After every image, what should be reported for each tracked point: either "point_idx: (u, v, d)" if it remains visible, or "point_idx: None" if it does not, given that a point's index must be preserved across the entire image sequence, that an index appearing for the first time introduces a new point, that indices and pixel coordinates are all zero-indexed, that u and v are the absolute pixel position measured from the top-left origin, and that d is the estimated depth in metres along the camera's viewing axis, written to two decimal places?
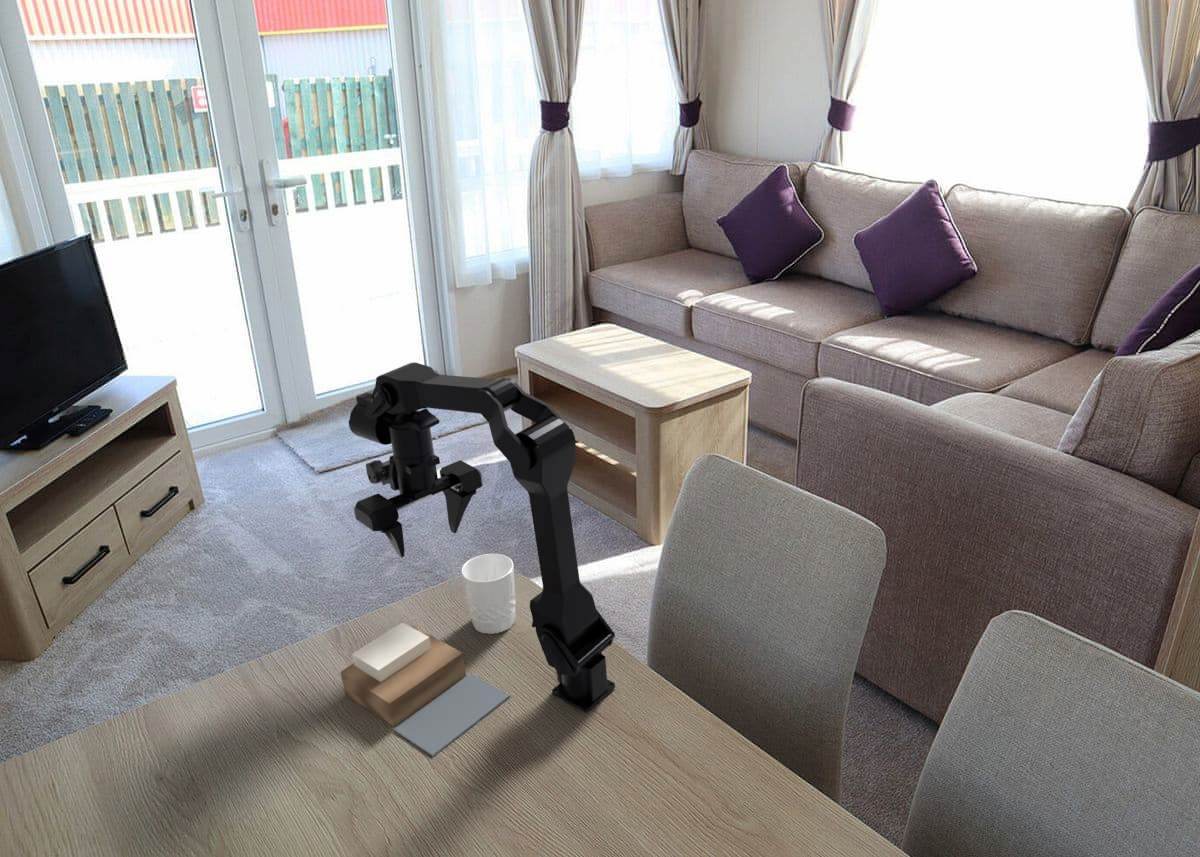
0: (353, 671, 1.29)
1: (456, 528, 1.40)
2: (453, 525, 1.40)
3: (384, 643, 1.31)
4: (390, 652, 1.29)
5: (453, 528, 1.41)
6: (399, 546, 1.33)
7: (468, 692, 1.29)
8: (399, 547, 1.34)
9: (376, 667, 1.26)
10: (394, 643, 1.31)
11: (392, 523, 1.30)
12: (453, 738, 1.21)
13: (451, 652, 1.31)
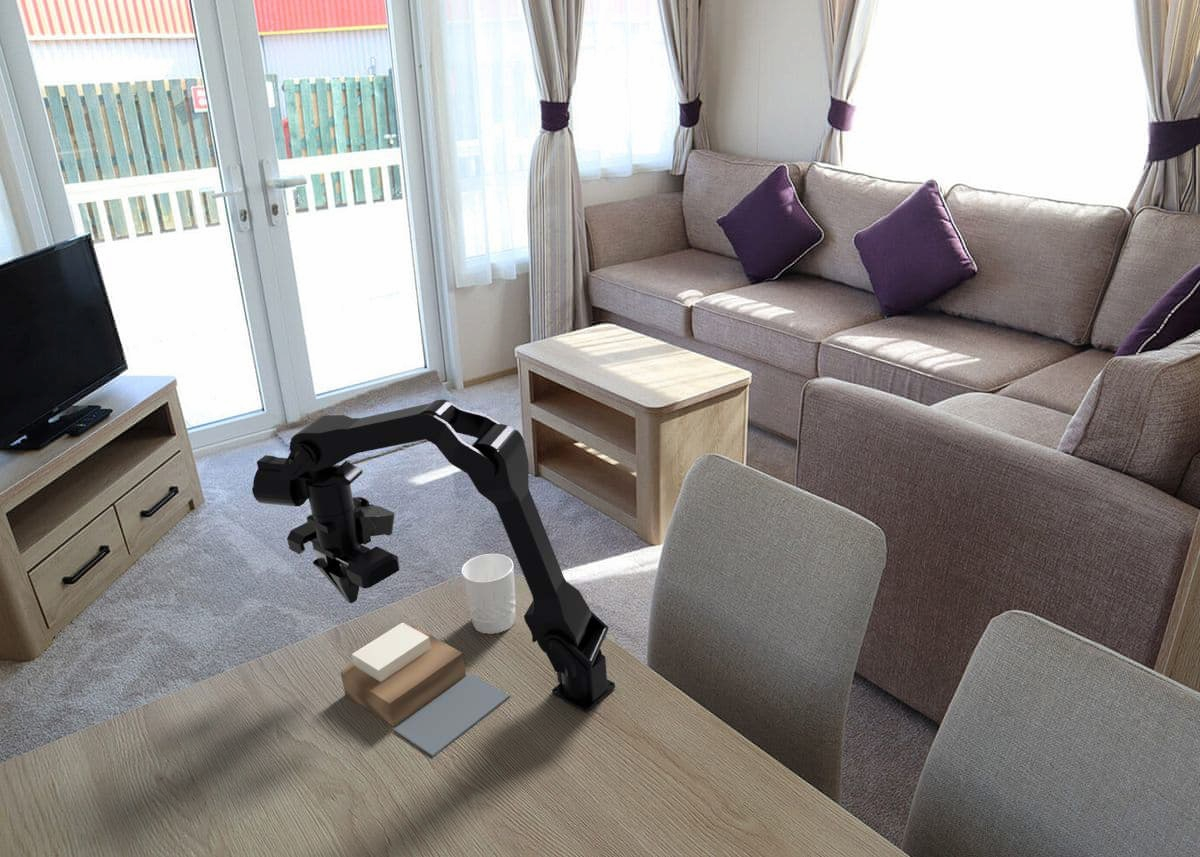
0: (353, 671, 1.29)
1: (347, 599, 1.32)
2: None
3: (384, 643, 1.31)
4: (390, 652, 1.29)
5: None
6: (336, 588, 1.32)
7: (468, 692, 1.29)
8: (337, 589, 1.32)
9: (376, 667, 1.26)
10: (394, 643, 1.31)
11: (297, 552, 1.32)
12: (453, 738, 1.21)
13: (451, 652, 1.31)
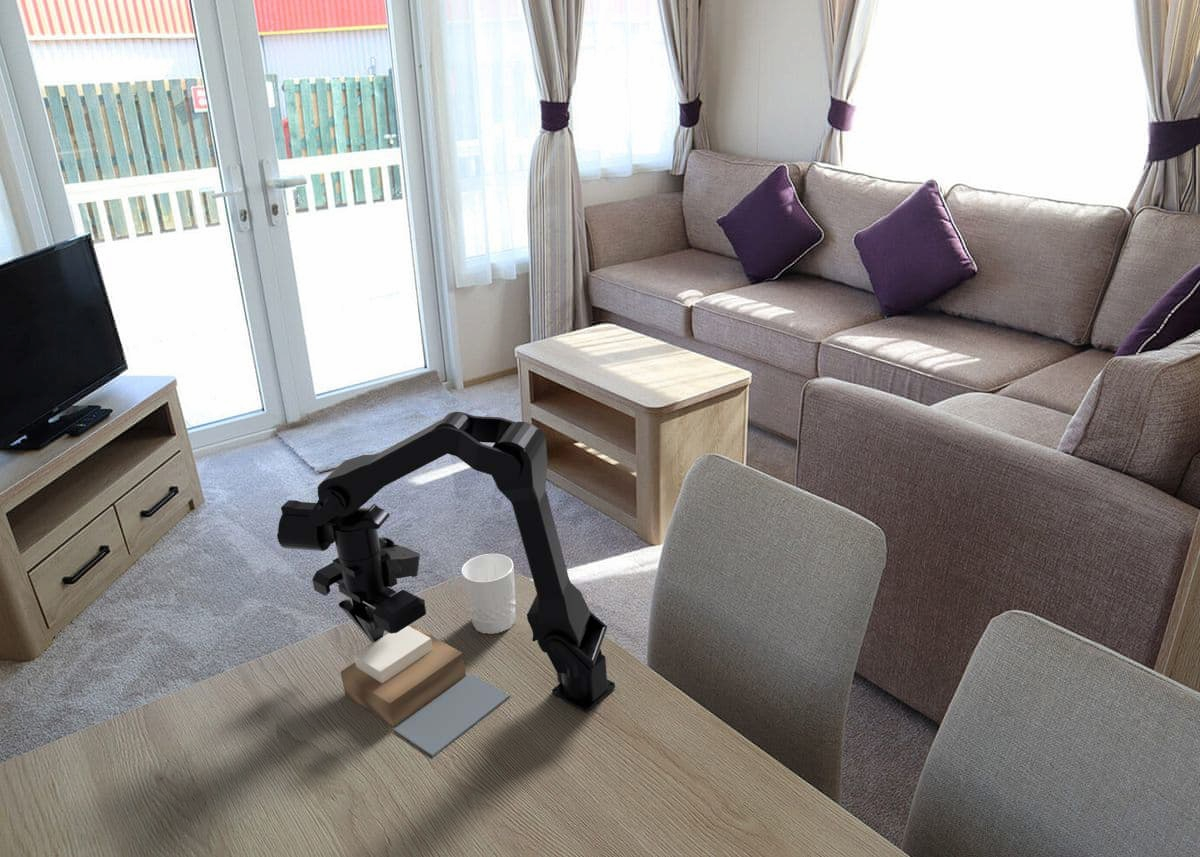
0: (353, 671, 1.29)
1: (372, 640, 1.32)
2: None
3: (386, 644, 1.31)
4: (392, 653, 1.29)
5: None
6: (362, 630, 1.31)
7: (468, 692, 1.29)
8: (363, 631, 1.32)
9: (378, 668, 1.26)
10: (396, 644, 1.30)
11: (323, 593, 1.32)
12: (453, 738, 1.21)
13: (451, 652, 1.31)
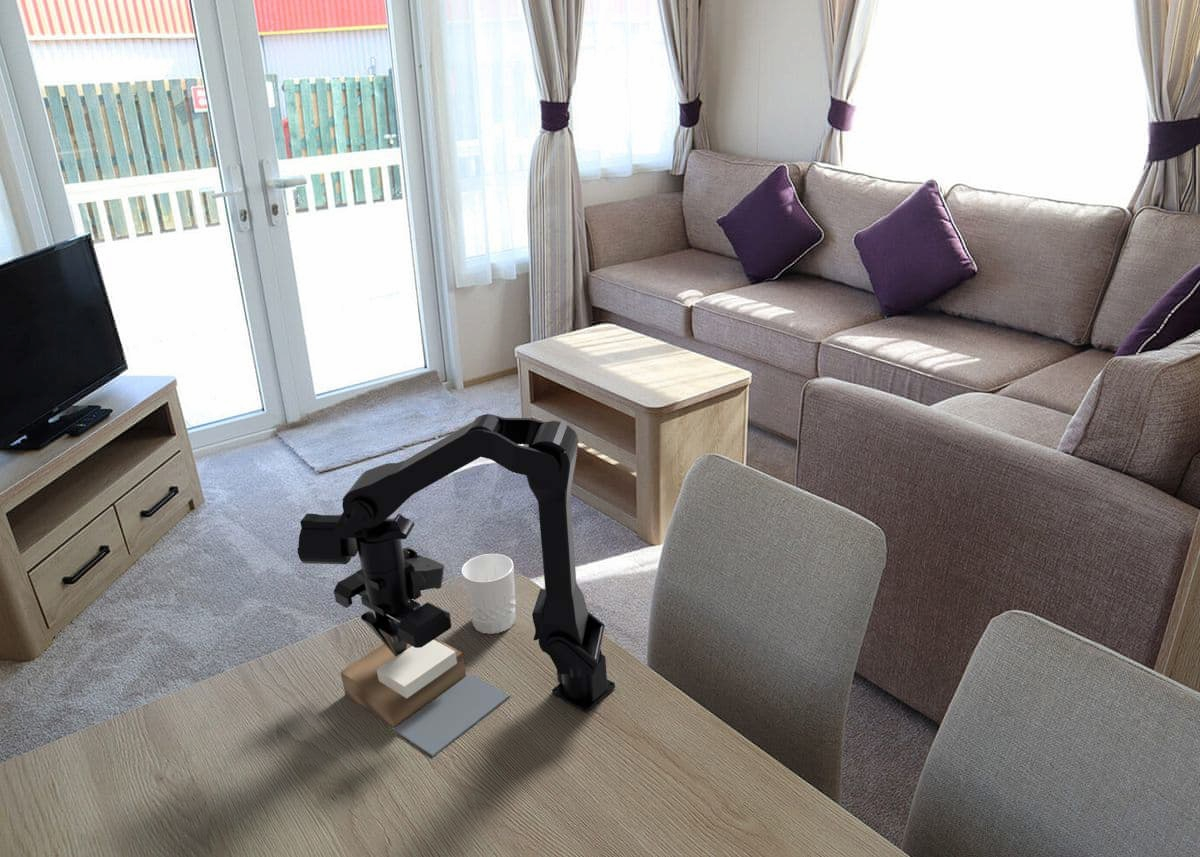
0: (353, 671, 1.29)
1: (395, 654, 1.29)
2: None
3: (409, 658, 1.28)
4: (416, 667, 1.26)
5: None
6: (384, 643, 1.28)
7: (468, 692, 1.29)
8: (385, 644, 1.28)
9: (402, 683, 1.23)
10: (419, 658, 1.27)
11: (344, 605, 1.29)
12: (453, 738, 1.21)
13: None
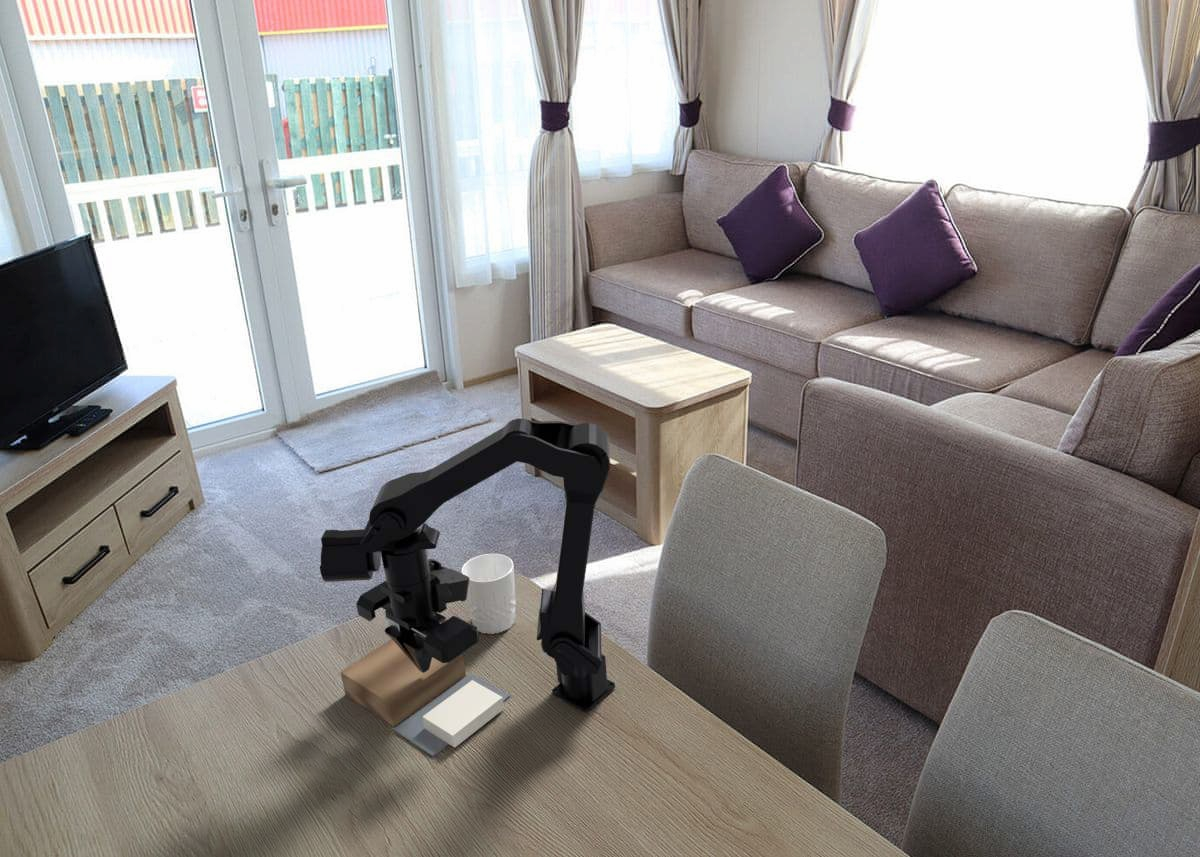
0: (353, 671, 1.29)
1: (419, 668, 1.25)
2: None
3: None
4: None
5: None
6: (409, 657, 1.25)
7: None
8: (409, 658, 1.25)
9: None
10: None
11: (367, 618, 1.25)
12: None
13: None
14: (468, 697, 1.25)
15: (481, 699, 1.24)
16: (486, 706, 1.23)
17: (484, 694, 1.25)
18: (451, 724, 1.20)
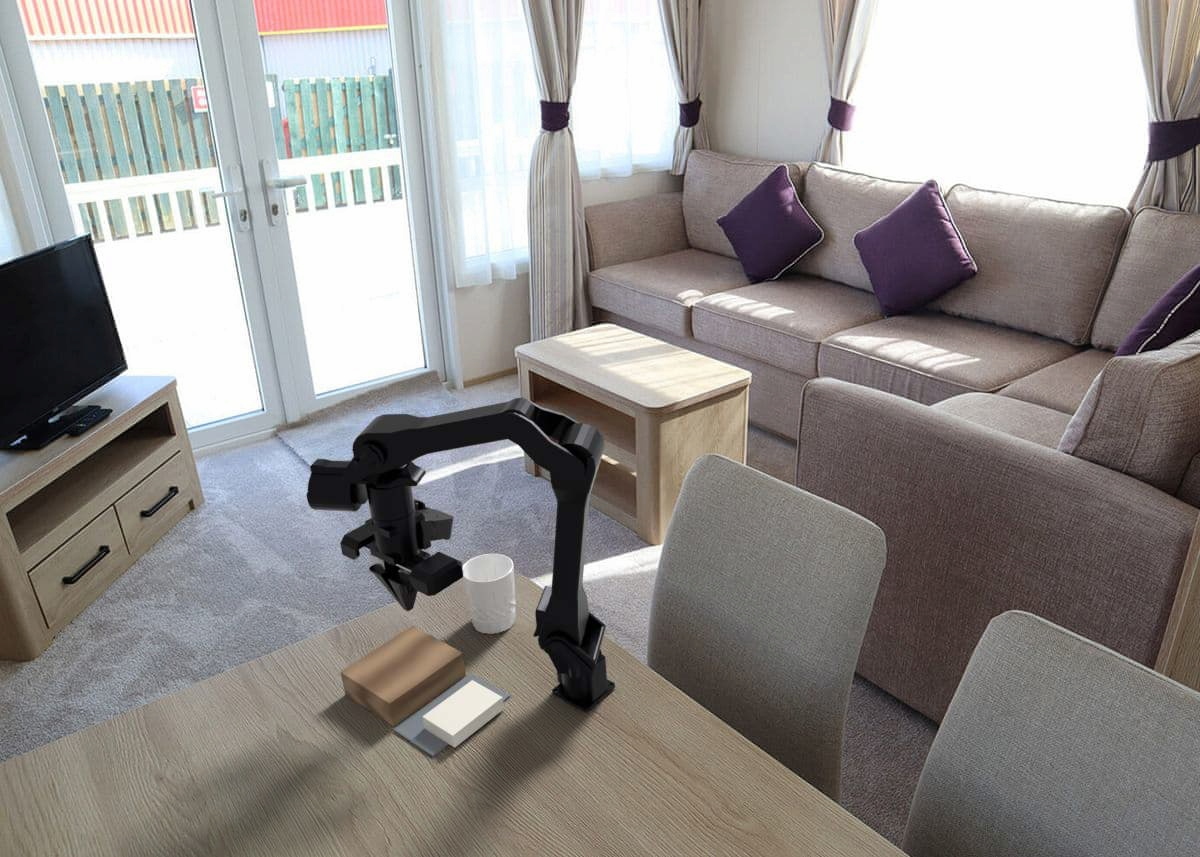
0: (353, 671, 1.29)
1: (404, 606, 1.26)
2: None
3: None
4: None
5: None
6: (393, 596, 1.26)
7: None
8: (394, 597, 1.26)
9: None
10: None
11: (352, 557, 1.26)
12: None
13: (451, 652, 1.31)
14: (468, 697, 1.25)
15: (481, 699, 1.24)
16: (486, 706, 1.23)
17: (484, 694, 1.25)
18: (451, 724, 1.20)
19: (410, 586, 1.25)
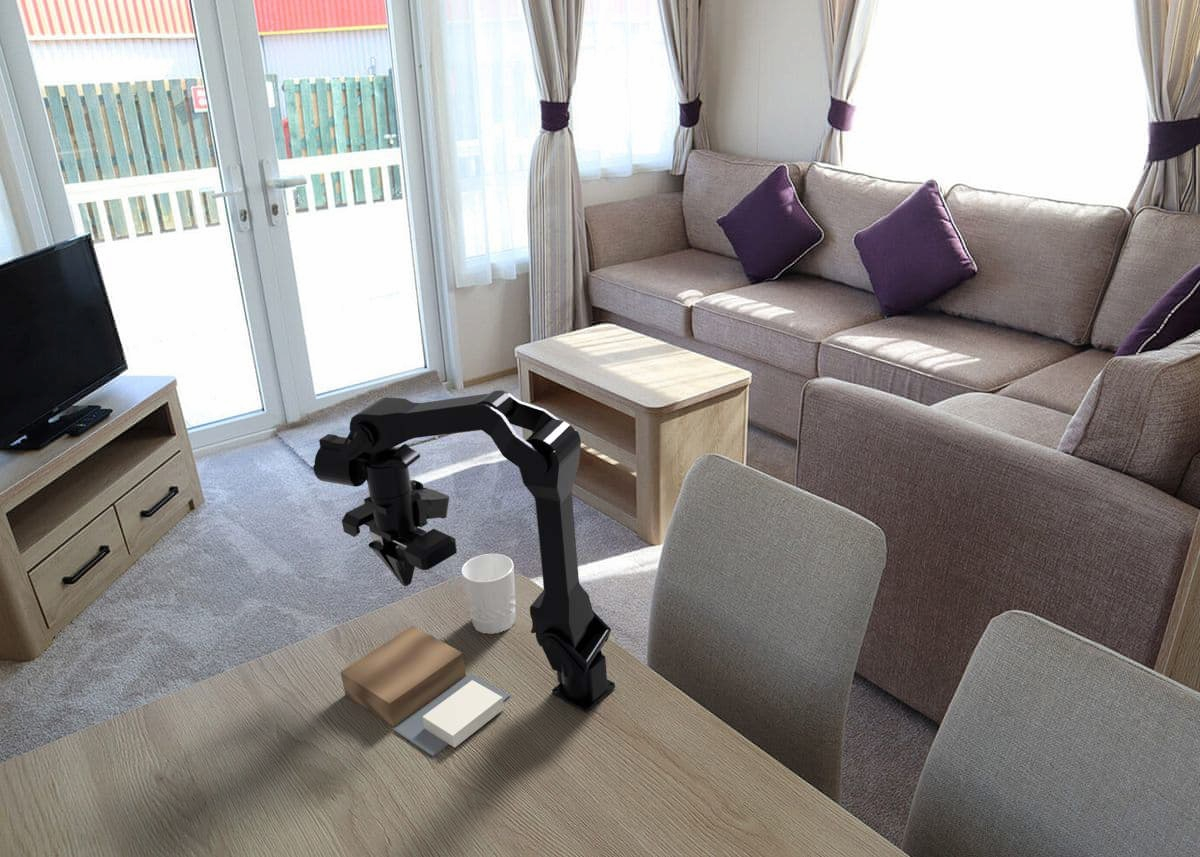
0: (353, 671, 1.29)
1: (402, 582, 1.32)
2: None
3: None
4: None
5: None
6: (391, 571, 1.32)
7: None
8: (392, 572, 1.32)
9: None
10: None
11: (352, 534, 1.32)
12: None
13: (451, 652, 1.31)
14: (468, 697, 1.25)
15: (481, 699, 1.24)
16: (486, 706, 1.23)
17: (484, 694, 1.25)
18: (451, 724, 1.20)
19: (407, 562, 1.31)
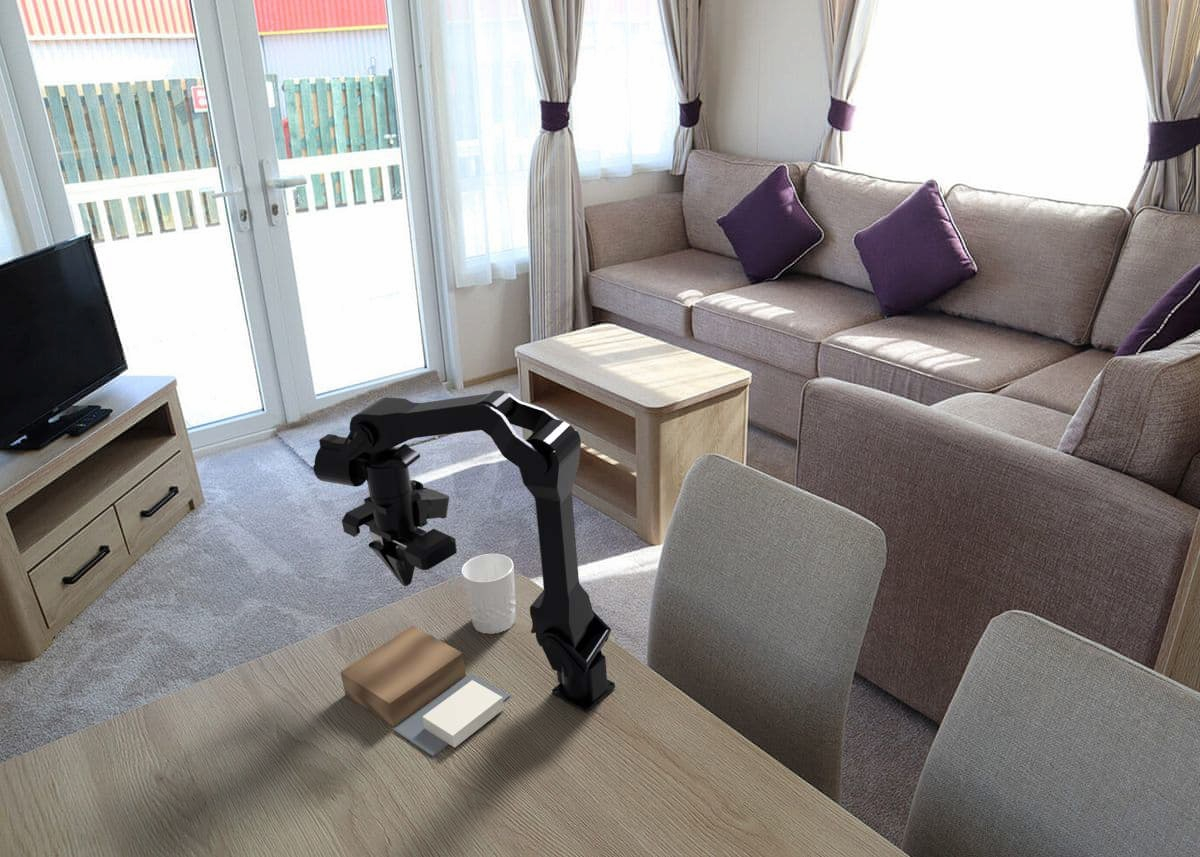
0: (353, 671, 1.29)
1: (402, 582, 1.32)
2: None
3: None
4: None
5: None
6: (391, 571, 1.32)
7: None
8: (392, 572, 1.32)
9: None
10: None
11: (352, 534, 1.32)
12: None
13: (451, 652, 1.31)
14: (468, 697, 1.25)
15: (481, 699, 1.24)
16: (486, 706, 1.23)
17: (484, 694, 1.25)
18: (451, 724, 1.20)
19: (407, 562, 1.31)
